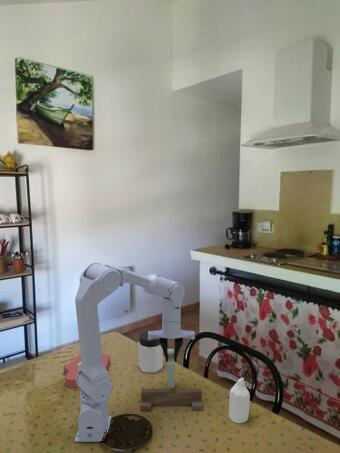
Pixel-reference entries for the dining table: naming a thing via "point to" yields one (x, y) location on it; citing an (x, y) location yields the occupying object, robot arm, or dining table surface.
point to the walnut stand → (171, 398)
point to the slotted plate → (171, 369)
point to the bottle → (239, 402)
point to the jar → (149, 354)
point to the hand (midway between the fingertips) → (171, 360)
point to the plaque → (72, 370)
